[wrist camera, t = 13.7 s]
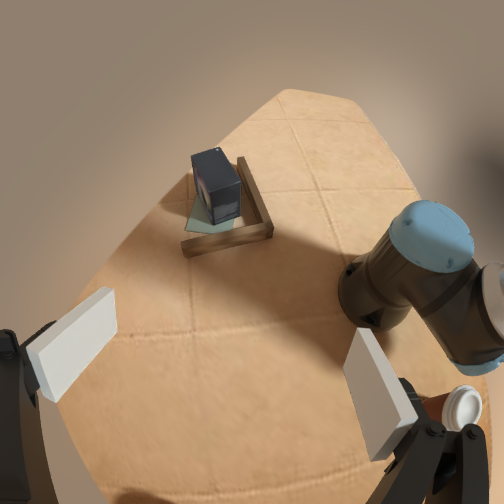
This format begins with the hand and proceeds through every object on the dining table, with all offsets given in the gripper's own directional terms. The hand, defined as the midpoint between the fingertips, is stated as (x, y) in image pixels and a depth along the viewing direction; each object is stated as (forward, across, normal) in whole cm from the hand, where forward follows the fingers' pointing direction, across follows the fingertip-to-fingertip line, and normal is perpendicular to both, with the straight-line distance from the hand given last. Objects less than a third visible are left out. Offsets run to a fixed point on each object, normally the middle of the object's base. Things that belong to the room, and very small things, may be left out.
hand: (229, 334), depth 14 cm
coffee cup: (+18, +37, -27) cm, 49 cm away
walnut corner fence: (+45, -9, 0) cm, 46 cm away
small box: (+46, -9, +1) cm, 47 cm away
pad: (+45, -9, 0) cm, 46 cm away
